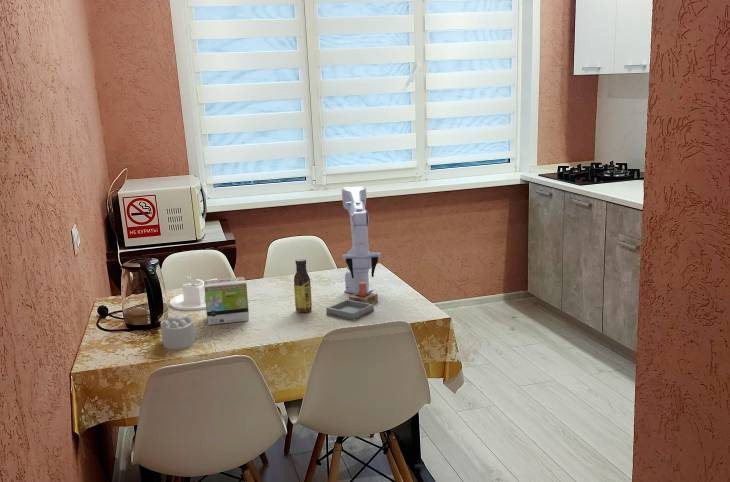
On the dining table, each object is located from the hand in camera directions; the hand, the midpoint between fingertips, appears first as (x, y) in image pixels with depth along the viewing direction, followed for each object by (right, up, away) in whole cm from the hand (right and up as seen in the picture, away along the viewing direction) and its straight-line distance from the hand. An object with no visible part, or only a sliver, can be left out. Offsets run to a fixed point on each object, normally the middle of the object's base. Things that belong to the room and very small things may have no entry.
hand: (362, 277), depth 253 cm
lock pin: (0, -10, +3) cm, 10 cm away
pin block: (0, -10, +3) cm, 10 cm away
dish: (-66, -11, +15) cm, 69 cm away
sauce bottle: (-22, -13, -4) cm, 26 cm away
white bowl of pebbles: (-62, -21, -31) cm, 72 cm away
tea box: (-50, -15, -10) cm, 53 cm away
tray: (-5, -13, -8) cm, 16 cm away
